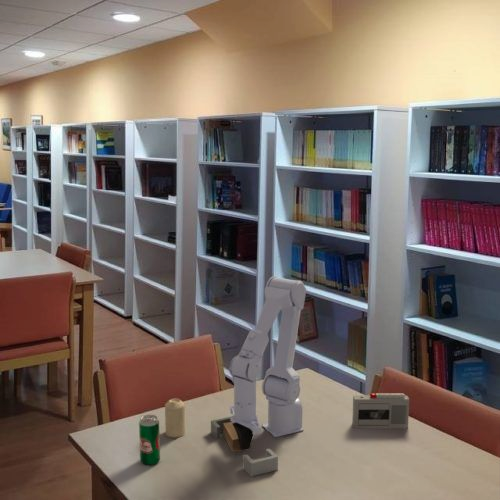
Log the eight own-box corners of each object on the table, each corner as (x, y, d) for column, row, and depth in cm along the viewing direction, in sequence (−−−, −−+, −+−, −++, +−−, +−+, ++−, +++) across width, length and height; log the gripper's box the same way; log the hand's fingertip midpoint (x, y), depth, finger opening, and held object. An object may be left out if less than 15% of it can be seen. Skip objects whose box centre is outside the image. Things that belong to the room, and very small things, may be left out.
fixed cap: (234, 426, 175) (234, 415, 175) (241, 433, 171) (241, 422, 171) (210, 432, 172) (210, 420, 171) (217, 439, 168) (217, 427, 167)
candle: (181, 438, 168) (181, 404, 167) (162, 436, 169) (162, 403, 168) (187, 429, 174) (187, 396, 172) (169, 427, 175) (168, 395, 173)
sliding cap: (269, 461, 156) (269, 448, 156) (277, 469, 152) (277, 456, 152) (243, 467, 153) (243, 455, 152) (251, 476, 149) (251, 463, 148)
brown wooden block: (235, 433, 171) (235, 421, 171) (245, 450, 162) (245, 437, 161) (223, 434, 170) (223, 423, 170) (232, 451, 161) (232, 439, 160)
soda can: (136, 462, 155) (134, 419, 153) (149, 454, 160) (148, 412, 157) (150, 468, 153) (149, 424, 151) (164, 460, 157) (163, 417, 155)
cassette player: (353, 428, 174) (354, 396, 173) (352, 424, 177) (353, 392, 175) (407, 428, 174) (409, 396, 173) (405, 424, 177) (407, 392, 175)
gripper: (220, 393, 163) (220, 439, 165) (243, 414, 150) (243, 464, 152) (243, 388, 166) (243, 434, 168) (268, 409, 153) (268, 458, 155)
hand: (245, 448), depth 160 cm, fingers closed
